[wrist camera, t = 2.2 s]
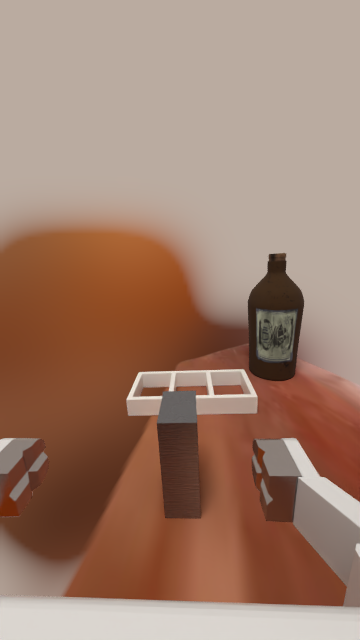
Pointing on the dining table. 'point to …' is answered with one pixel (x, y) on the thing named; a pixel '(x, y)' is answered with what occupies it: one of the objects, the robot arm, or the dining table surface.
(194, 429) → the dark grey metallic block
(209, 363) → the dining table surface
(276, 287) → the olive oil
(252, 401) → the rack
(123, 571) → the dining table surface
